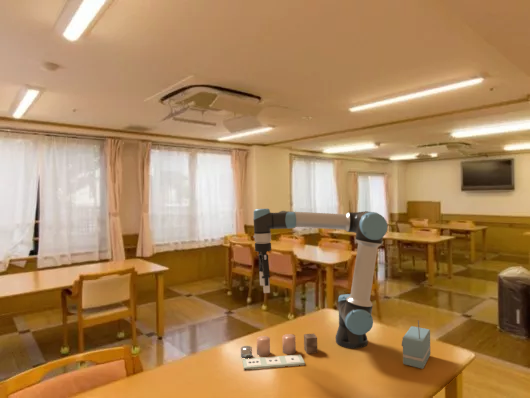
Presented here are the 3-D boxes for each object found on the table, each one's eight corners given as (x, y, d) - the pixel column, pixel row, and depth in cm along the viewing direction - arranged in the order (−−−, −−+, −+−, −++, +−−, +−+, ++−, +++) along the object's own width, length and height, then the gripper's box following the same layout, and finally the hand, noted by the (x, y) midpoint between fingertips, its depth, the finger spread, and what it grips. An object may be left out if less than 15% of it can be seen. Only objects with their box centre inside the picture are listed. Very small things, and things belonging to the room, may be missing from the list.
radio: (409, 351, 158) (408, 307, 158) (430, 356, 153) (429, 311, 153) (400, 365, 145) (399, 317, 145) (423, 371, 140) (422, 321, 140)
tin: (251, 354, 159) (251, 345, 159) (252, 359, 154) (252, 350, 154) (240, 355, 158) (240, 346, 158) (241, 360, 153) (241, 351, 153)
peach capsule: (294, 348, 164) (293, 333, 164) (296, 354, 158) (296, 338, 158) (281, 349, 163) (281, 334, 163) (284, 355, 157) (283, 339, 157)
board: (300, 356, 155) (300, 353, 155) (304, 365, 147) (304, 362, 147) (242, 361, 152) (242, 358, 152) (243, 370, 144) (243, 367, 144)
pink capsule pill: (269, 350, 162) (268, 335, 162) (270, 356, 156) (270, 340, 156) (256, 351, 162) (256, 336, 162) (257, 357, 156) (257, 341, 156)
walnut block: (314, 348, 163) (314, 333, 163) (317, 352, 158) (317, 337, 159) (304, 349, 163) (303, 334, 163) (306, 353, 158) (306, 338, 158)
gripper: (252, 239, 170) (253, 283, 170) (257, 246, 145) (259, 296, 145) (267, 239, 171) (269, 281, 171) (275, 245, 146) (277, 295, 146)
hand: (264, 288), depth 158 cm, fingers open, 13 cm apart
